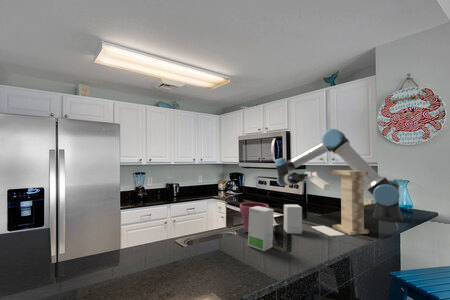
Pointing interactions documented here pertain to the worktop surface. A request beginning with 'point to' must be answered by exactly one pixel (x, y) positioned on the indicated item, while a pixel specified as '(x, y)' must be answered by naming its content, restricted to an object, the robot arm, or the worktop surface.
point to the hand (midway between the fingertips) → (314, 174)
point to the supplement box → (293, 219)
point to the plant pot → (245, 211)
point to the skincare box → (260, 228)
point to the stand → (351, 202)
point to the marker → (317, 181)
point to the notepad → (328, 231)
